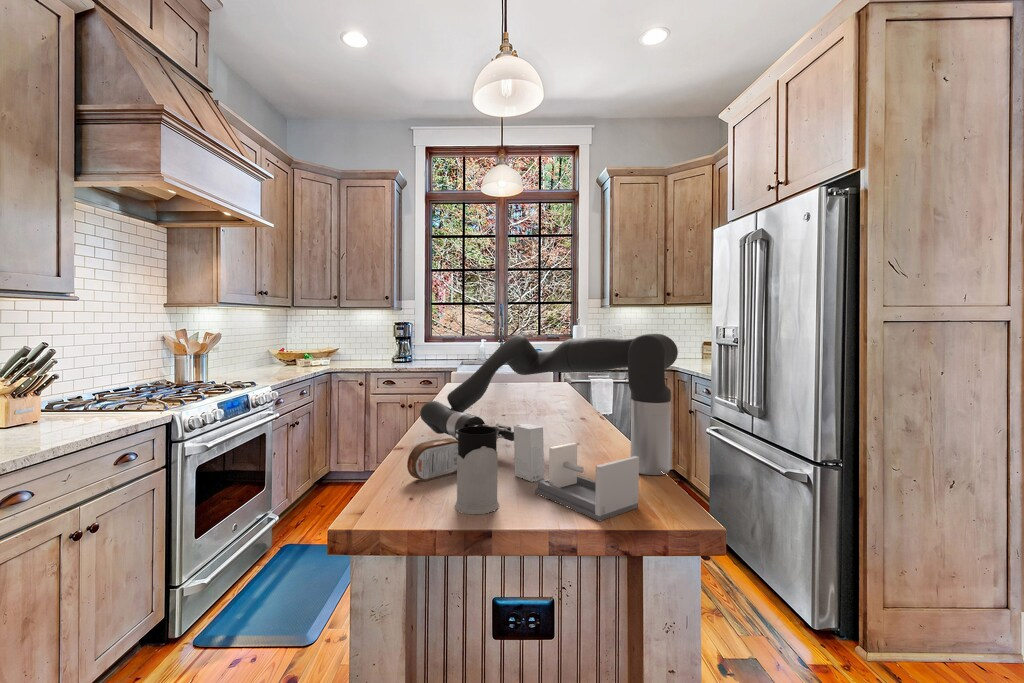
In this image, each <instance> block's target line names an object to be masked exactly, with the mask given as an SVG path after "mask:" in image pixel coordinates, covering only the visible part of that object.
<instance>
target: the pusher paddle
mask: <svg viewBox="0 0 1024 683" xmlns="http://www.w3.org/2000/svg"><path fill="white" fill-rule="evenodd" d="M548 451H549V452H548V459H549V460H548V478H549V484H551V485H554V486H556V487H559V488H561V487H564V486H568V485H572V484H575V483H577V475H578V473H582V474H583V472H584V470H585V468H584V467H583V466H581V465H578V443H576V442H570V443H565V444H560V445H555V446H550V447H549V449H548Z"/></svg>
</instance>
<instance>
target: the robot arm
mask: <svg viewBox="0 0 1024 683" xmlns="http://www.w3.org/2000/svg"><path fill="white" fill-rule="evenodd" d="M678 353H679V350H678V346H677V345H676V343H675V341H674V340H673V339H671V338H670V337H668V336H667V335H665V334H661V333H645V334H640V335H638V336H636V337H633V338H625V339H624V338H623V339H621V338H607V337H606V338H605V337H577V338H576V337H575V338H574V337H573V338H569V339H566V340H565V341H563V342H562V343H560V344H559V345H558V346H557V347H555V348H554V350H550V351H539V350H536V348H535V347H534V346H533V345H532V343H531V341H529V340H528V338H527V337H526V336H524V335H522V334H516V335H514V336H511V337H510V338H507V340H505V341H504V342H503V343H502V344H501V345H500V346H499V347H498V348H497V349H496V350H495V351H494V352H493V353H492V355H490V356H489V357H488V358H487V359H486V360H485V361H484V362H483V364H482V365H481V366H480V367H479V368H478V369H477V370H476V371H475V372H474V373H473V374H472V375H471V376H469V377H468V378H467V379H466V380H465V381H463V382H462V383H460V384H459V385H457V387H456V388H454V389H453V390H451V391H450V392H449V393H448V394H447V397H446V398H447V401H448V404H449V405H450V407H451V408H450V407H449V406H447V405H445V404H444V403H442V402H439V401H437V400H430V401H428V402H426V403H425V404H423V406H422V407H421V408H420V411H419V412H420V413H419V415H420V419H421V420H422V421H423V423H424V424H425V425H427V426H428V427H429V428H430V429H431V430H432V432H434V433H435V434H437V435H440V434H441V435H442V434H445V435H449V436H451V437H452V438H453V439H455V440H456V441H458V430H459V429H461V428H464V427H471V426H486V427H492V428H495V429H496V430H497V440H499V439H504V440H507V441H510V442H514V431H512V427H511V426H508V425H503V424H500V423H496V424H495V425H493V424H491V425H490V424H487V423H486V422H485V421H484V419H482V418H481V417H479V416H477V415H474V414H470V413H467V412H466V410H468V409H469V408H470V407H472V406H473V405H474V404H476V403H477V402H478V401H479V400H480V399H482V398H483V396H484V395H485V393H486V392H487V390H488V388H489V386H490V383H491V381H492V379H493V377H494V375H495V374H496V373H497V371H499V369H500V368H502V367H503V366H504V365H505V364H507V365H508V367H509V368H510V369H511V370H512V372H514V373H516V374H517V375H521V376H529V375H537V374H544V373H546V374H547V373H567V372H570V373H580V372H581V373H590V372H593V373H594V372H599V371H600V372H601V371H609V370H616V369H623V368H627V375H628V376H627V382H628V383H627V384H628V388H629V390H630V394H631V397H630V398H631V399H630V400H631V404H630V406H631V408H630V409H631V410H630V451H629V452H630V454H629V455H630V456H629V457H633V456H637V457H639V474H641V475H648V476H663V475H667V474H669V472H670V470H672V458H673V457H672V456H673V455H672V452H673V451H672V450H673V445H672V444H673V431H672V430H671V412H672V411H671V410H672V408H671V404H672V403H671V402H672V401H671V400H672V392H671V389H670V388H669V387H668V386H667V384H666V378H665V374H666V373H665V370H666V369H668V368H670V367H672V365H674V363H675V362H676V360H677V358H678V356H679V355H678ZM661 471H662V472H663V473H665V474H663V473H662V472H661Z"/></svg>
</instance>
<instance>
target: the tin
mask: <svg viewBox="0 0 1024 683" xmlns="http://www.w3.org/2000/svg"><path fill="white" fill-rule="evenodd" d="M457 455H458V441H457V440H456V438H453V437H448V438H443V439H437V440H431V441H426V442H425V441H424V442H421V443H419V444H417V445H416V446H414V447H413V449H412V450H411V451H410V453H409V455H408V458H407V461H406V462H407V464H406V467H407V471H408V474H409V475H410V476H411V477H412V478H414V479H417V480H419V481H423V482H428V481H431V480H436V479H440V478H443V477H446V476H451V475H455V474H457ZM450 474H451V475H450ZM439 477H440V478H439Z"/></svg>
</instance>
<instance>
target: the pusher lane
mask: <svg viewBox="0 0 1024 683" xmlns="http://www.w3.org/2000/svg"><path fill="white" fill-rule="evenodd" d="M639 474H640V473H639V457H637V456H633V457H630V456H629V457H626V458H621V459H617V460H613V461H609V462H605V463H601V464H597V465H595V480H593V479H590V478H588V477H585V476H582V475H579V474H577V483H575V484H572V485H568V486H564V487H561V488H559V487H556V486H554V485H551V484H549V477H548V478H544V479H542V480H538V481H536V482H537V483H536V488H535V490H534V491H535V493H537V494H536V495H538V494H539V495H538V496H540V495H542V496H544V497H543V498H545V497H546V498H545V499H547V498H548V499H547V500H549V499H551V500H553V501H552V502H554V501H556V502H558V503H561V504H563V505H565V506H568V507H570V508H572V509H574V510H576V511H578V512H577V513H579V512H581V513H583V514H585V515H584V516H586V515H587V516H586V517H588V516H590V517H592V518H594V519H593V520H595V519H597V520H599V521H598V522H601V521H600V520H602V521H604V520H603V519H605V520H607V519H606V518H608V519H610V518H609V517H611V518H613V517H615V516H619V515H623V514H624V513H627V512H630V511H634V510H637V509H638V508H639V481H640V480H639V479H640V478H639V477H640V476H639ZM542 496H541V497H542ZM551 500H550V501H551ZM556 502H555V503H556ZM558 503H557V504H558ZM561 504H560V505H561ZM563 505H562V506H563ZM565 506H564V507H565ZM570 508H569V509H570ZM572 509H571V510H572ZM574 510H573V511H574ZM576 511H575V512H576ZM581 513H580V514H581ZM583 514H582V515H583ZM618 514H619V515H618ZM612 516H613V517H612ZM590 517H589V518H590ZM592 518H591V519H592ZM597 520H596V521H597Z"/></svg>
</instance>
